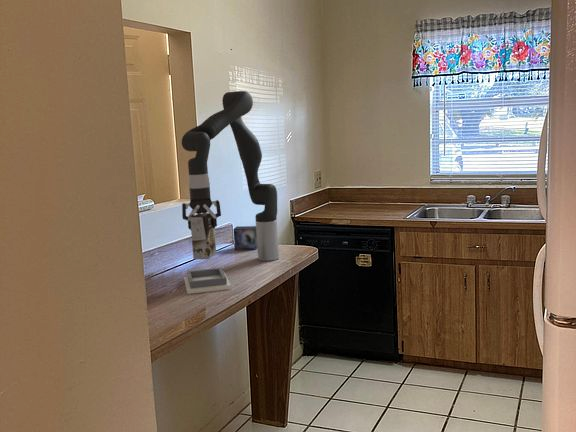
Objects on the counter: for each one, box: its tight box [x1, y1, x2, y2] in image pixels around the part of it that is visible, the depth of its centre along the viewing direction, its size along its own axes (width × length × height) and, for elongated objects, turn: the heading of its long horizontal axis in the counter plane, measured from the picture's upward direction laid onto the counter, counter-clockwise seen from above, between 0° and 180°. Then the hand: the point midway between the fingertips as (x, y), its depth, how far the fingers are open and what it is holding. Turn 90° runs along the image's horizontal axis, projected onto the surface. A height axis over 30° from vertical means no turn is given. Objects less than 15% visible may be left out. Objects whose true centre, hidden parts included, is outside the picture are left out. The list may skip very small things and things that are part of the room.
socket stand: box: [183, 267, 232, 295], centre depth 228 cm, size 19×16×4 cm
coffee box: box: [190, 212, 217, 260], centre depth 226 cm, size 9×6×16 cm
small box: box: [232, 225, 258, 251], centre depth 288 cm, size 11×6×10 cm, turn 80°
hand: (202, 229), depth 225 cm, fingers closed on coffee box, 8 cm apart
